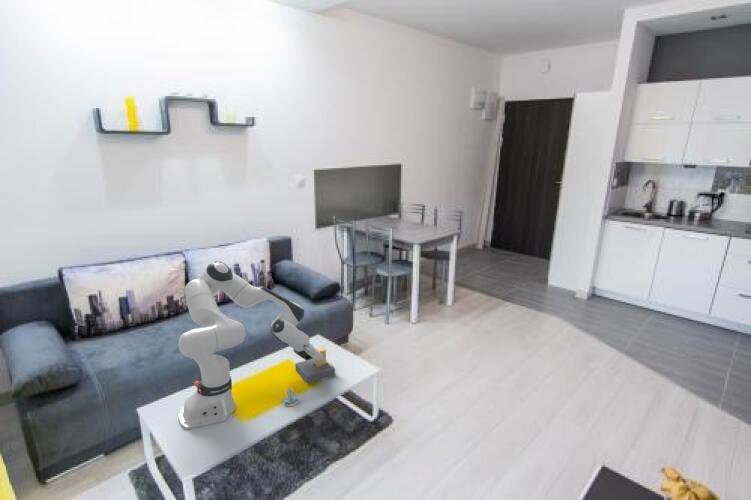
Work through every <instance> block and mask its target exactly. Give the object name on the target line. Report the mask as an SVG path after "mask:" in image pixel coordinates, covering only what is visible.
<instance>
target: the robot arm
mask: <svg viewBox="0 0 751 500" xmlns="http://www.w3.org/2000/svg"><path fill="white" fill-rule="evenodd" d="M184 292H185V295H184V296H185V301H186V306H187V309H188V311H189V314H190V318H191V320H192V321H193V322H194V323H195V324H196V325H199V327H197V328H192V329H190V330H188V331H185V332H183V333H182V334H181V335H180V336H179V339H178V349H179V351H180V354H182V355H183V356H184V357H186V358H188V359H191V360H193V361H194V362H196V364H197V365H198V367H199V370H200V375H201V376H200V377H201V381H199V380H196V381H194V383H193V385H194V386H195V388H196V391H195V392H193V394H191V395H190V396H189V397H187V399H185V402H184V405H183V407H182V408H180V410H179V411H178V416H177V417H178V423H179V425H180V426H181V427H183V429H185V430H190V429H194V428H199V427H204V426H209V425H213V424H218V423H224V422H225V421H227V419H228V417H229V416H230V415H231V414H233V413H234V412H235V410H236V407H237V405H236V402H235V400H234V397H233V391H232V389H233V388H232V387H233V383H232V382H233V380H232V377H231V372H230V370H231V369H230V362H229V360H228V359H227V358H226V357H224V356H222V355H220V354H214V353H216V352H218V351H219V352H220V351H223V350H227V349H230V348H234V347H236V346H238V345H240V344H241V343H243V342H244V340H245V337H246V329H245V326H244V325H243V324H242V323H241V322H240V321H238V320H234V319H231V318H230V317H228V316H227V315H225V314H224V313H223V312H222V311H221V310H220V308H219V306H218V304H217V302H216V299H215V297H216V295H218V293H219V292H223V293H224V294H225V295H226V296H227V297H228V298H229V299H230V300H231V301H233V302H234V303H235V304H236V305H238V306H239V307H242V308H249V307H250V308H251V307H252V306H254V305H257V304H258V303H261V302H263V301H265V300H271V301H272V302H273V301H274V302H275V303H276V304H279V305H280V306H282V307H283V310H282V311H281V312H280V313H279V314H278V315H277V317H276V318H275V319H274V320H273V321H272V322H271V324H270V326H269V329H270V333H271V335H272V336H273V337H274V338H276V339H277V340H278V341H280V342H283V343H285V344H288V345H289V347H290V348H292V349H293V350H294V349H295V350H296V351H298V352H300V351H305V352H306V353H307V354H308V355H310V356H311V357H312V358H311V359H313V358H314V359H315V360H316V361H320V360H321V361H323V359H324V357H323V355H322V354H321V353H320V352H319V351H318V350H317V348H316V347H315V346H314V345H313V344H312V343H311V341H310V336H309V335H308V334H306V333H305V332H304V331H302V330H299V329H298V328H297V327H296V326H297V325H298V323H300V322H301V321H302V320H303V319H304V317H305V310H304V308H303V306H301V305H300V304H298V303H297V302H293V301H291V300H289V299H287V298H286V297H284V296H282V295H280V294H278V293H277V292H275V291H273V290H271V289H270V288H268V287H265V286H262V285H261V286H255V285H252V284H250V283H249V282H248V281H247V280H245V279H244V278H242V277H241V276H239V275H238V274H235V273H233V271H232V270H231V269H230V267H229V266H228V265H227V264H226V263H225V262H222V261H217V260H216V261H212V262H210V263H209V264H208V265H207V267H206V268H205V270H204V271H203V272H202V273H201V274H200V275H199V277H198V279H197V278H196V279H192V280H190V281H188V283H186V285H185V288H184Z"/></svg>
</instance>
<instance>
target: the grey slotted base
mask: <svg viewBox="0 0 751 500" xmlns="http://www.w3.org/2000/svg"><path fill="white" fill-rule="evenodd" d="M335 370H336V369H335V366H334V365H333V363H331V361H329V360H328V359H327V358H326V365H324V366H321V367H317V368H316V367H315V359H314V358H311V359H305V360H303V361H299V362H296V363H295V372H296V373H297V374H298V376H300V378H301V379H302V380H303V381H304V382H305V384H306V385H309V384H312V383H314V382H317V381H322V380H324V379H327V378H331V377H334V376H335V375H336V373H335V372H336V371H335Z"/></svg>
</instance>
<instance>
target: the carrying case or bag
mask: <svg viewBox="0 0 751 500" xmlns="http://www.w3.org/2000/svg"><path fill="white" fill-rule="evenodd" d="M293 351H294V352H296V354H298V355H299V356H301V357H302V358H304V359H305V360H309V359H313V358H312V357H311V356H310V355H308V354H307V353H306V352H305V351H300V352H298V351H296V350H295V349H293Z"/></svg>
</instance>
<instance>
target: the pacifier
mask: <svg viewBox="0 0 751 500" xmlns="http://www.w3.org/2000/svg"><path fill="white" fill-rule="evenodd" d="M286 396H287V397H281V400H282V401H283V402H284V406H286V407H292V406H295V405H297V404H298V403H299V399H298V398H299V395H298V393H294V390H293V389H292V388H288V389H287V390H286Z"/></svg>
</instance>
